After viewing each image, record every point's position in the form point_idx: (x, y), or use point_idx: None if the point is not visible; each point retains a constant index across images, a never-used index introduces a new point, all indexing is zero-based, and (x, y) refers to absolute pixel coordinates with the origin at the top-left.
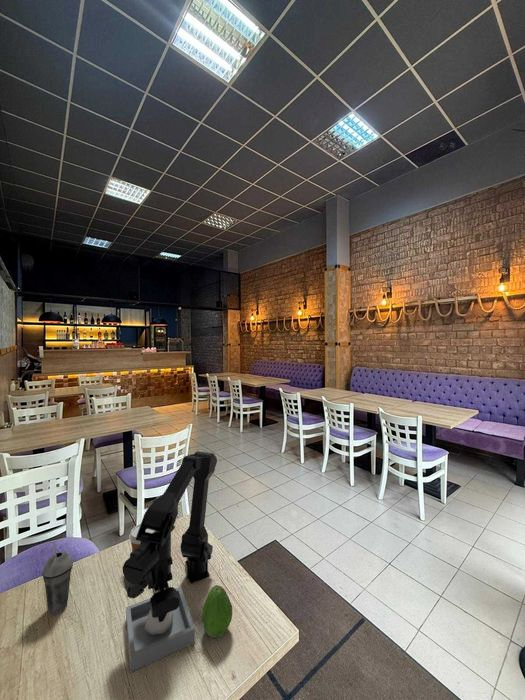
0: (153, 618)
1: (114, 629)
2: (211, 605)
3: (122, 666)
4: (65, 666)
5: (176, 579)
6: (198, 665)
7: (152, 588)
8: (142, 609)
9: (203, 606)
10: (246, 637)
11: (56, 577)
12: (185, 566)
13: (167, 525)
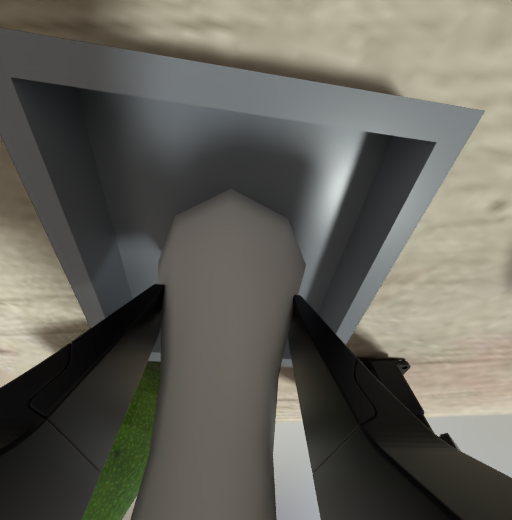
0: (178, 270)
1: (416, 8)
2: None
3: (108, 2)
4: None
5: (403, 335)
6: (45, 303)
7: (351, 415)
8: (374, 212)
9: (116, 439)
10: None
11: None
12: (409, 390)
13: None
